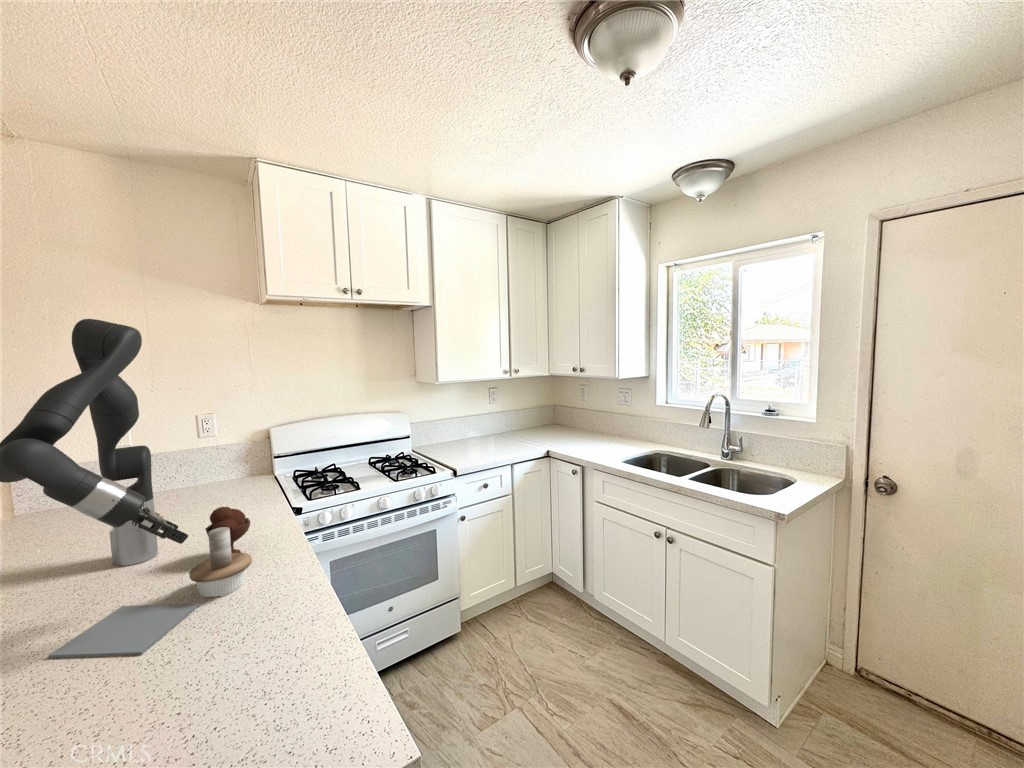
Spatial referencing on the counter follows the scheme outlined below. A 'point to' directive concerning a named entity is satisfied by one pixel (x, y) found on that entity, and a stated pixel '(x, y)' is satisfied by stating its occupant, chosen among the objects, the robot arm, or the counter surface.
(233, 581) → the ramekin
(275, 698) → the counter surface
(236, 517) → the ice cream bowl
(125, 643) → the mat
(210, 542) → the lid
